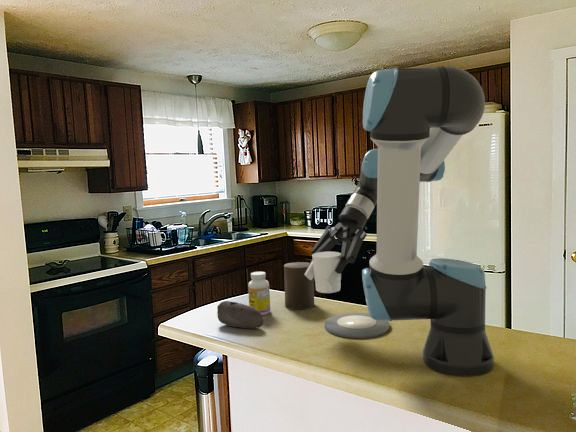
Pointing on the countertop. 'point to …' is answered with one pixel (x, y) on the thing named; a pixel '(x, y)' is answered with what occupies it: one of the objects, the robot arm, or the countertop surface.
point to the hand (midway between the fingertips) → (318, 279)
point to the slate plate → (356, 325)
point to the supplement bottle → (259, 293)
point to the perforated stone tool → (239, 315)
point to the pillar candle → (298, 286)
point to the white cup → (325, 271)
